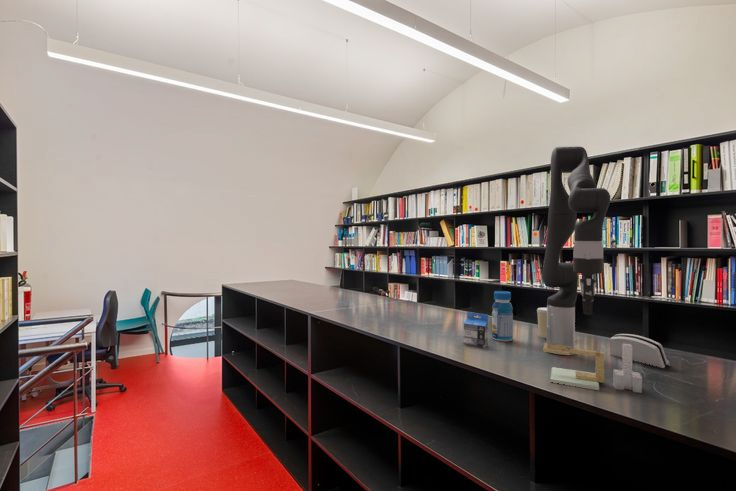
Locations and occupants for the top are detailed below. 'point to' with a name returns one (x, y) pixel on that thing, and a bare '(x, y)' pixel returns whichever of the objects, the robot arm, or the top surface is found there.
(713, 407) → the top surface
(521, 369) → the top surface
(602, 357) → the square loop paddle
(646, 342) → the white arched piece
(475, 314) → the label tape cartridge
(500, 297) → the beverage bottle
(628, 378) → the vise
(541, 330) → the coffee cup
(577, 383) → the mat
